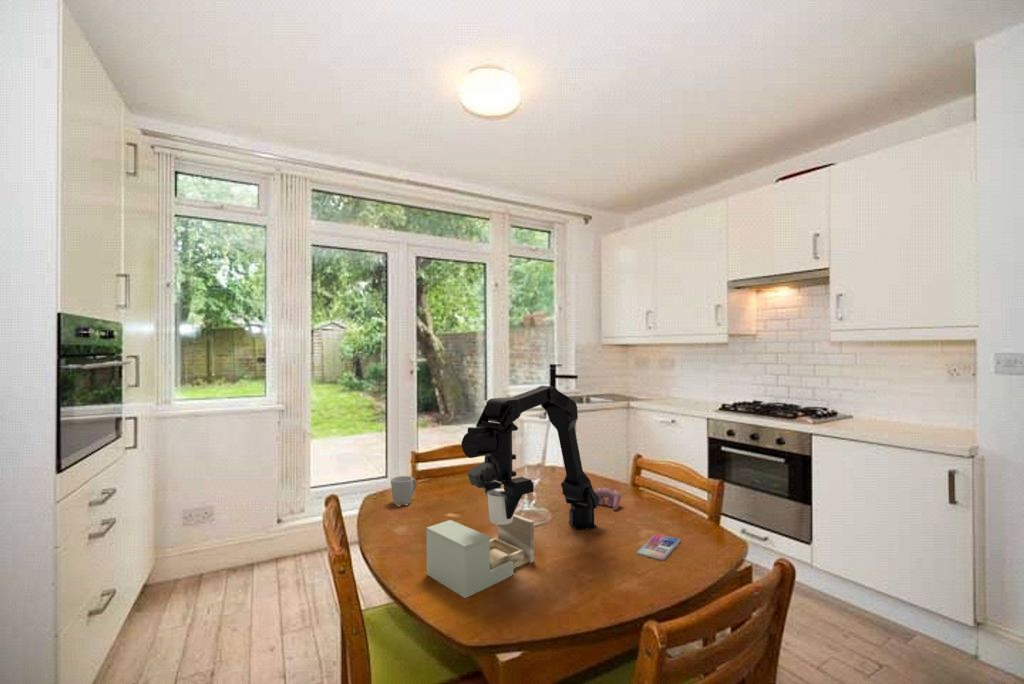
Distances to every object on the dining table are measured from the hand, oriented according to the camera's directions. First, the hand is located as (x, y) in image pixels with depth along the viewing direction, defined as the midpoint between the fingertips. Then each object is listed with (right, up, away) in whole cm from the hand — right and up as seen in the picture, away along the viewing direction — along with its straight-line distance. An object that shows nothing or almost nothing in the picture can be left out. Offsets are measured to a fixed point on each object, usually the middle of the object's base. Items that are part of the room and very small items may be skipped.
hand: (501, 514), depth 113 cm
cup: (-34, -14, +48) cm, 60 cm away
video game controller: (+34, -13, +42) cm, 56 cm away
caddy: (-7, -13, -4) cm, 15 cm away
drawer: (-1, -13, +2) cm, 13 cm away
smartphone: (+42, -13, +10) cm, 45 cm away
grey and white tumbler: (0, -2, 0) cm, 2 cm away
